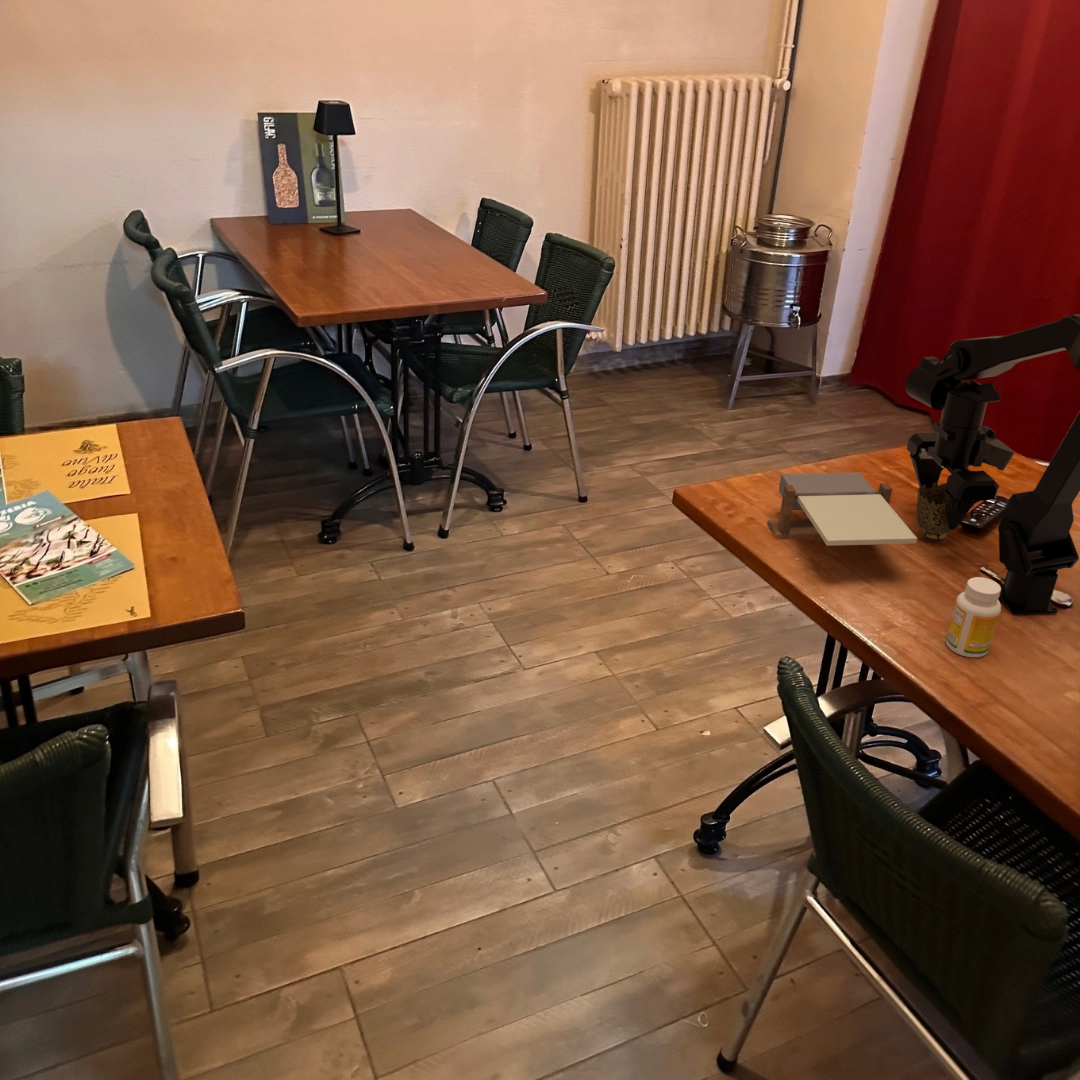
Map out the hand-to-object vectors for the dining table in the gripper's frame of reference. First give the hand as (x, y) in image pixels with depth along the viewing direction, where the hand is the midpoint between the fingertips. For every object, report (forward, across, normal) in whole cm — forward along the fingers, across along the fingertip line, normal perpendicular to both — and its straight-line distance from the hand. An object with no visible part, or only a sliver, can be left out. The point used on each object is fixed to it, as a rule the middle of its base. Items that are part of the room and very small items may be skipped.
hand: (939, 514), depth 153 cm
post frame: (+4, +4, +16) cm, 17 cm away
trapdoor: (0, -1, +16) cm, 16 cm away
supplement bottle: (+4, -29, +8) cm, 30 cm away
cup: (+4, 0, 0) cm, 4 cm away
